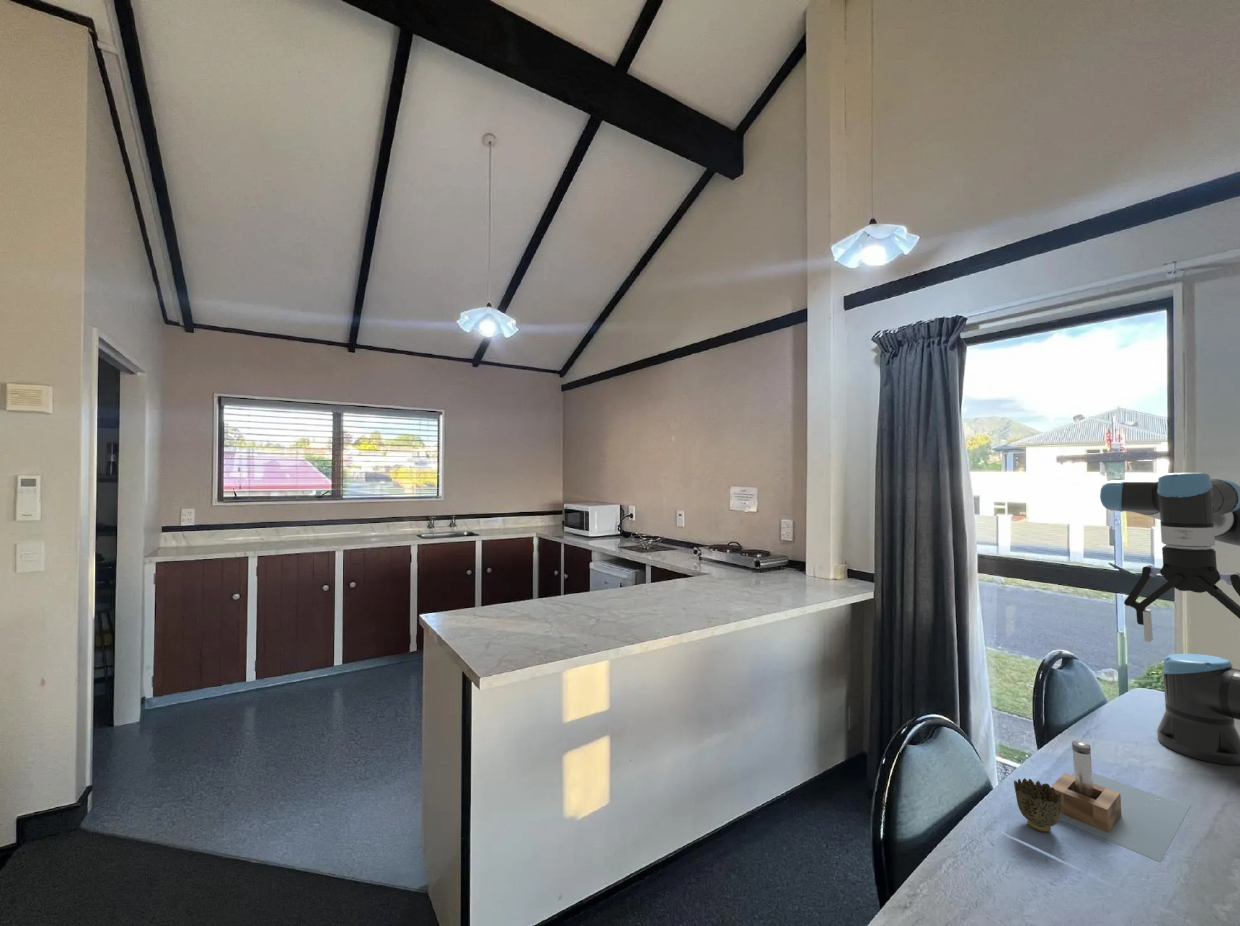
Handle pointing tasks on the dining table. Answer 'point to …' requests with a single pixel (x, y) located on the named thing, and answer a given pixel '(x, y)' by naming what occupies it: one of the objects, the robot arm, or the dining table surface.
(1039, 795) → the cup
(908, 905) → the dining table surface
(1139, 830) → the mat
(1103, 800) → the wooden block with hole
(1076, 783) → the metal cylinder rod
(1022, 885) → the dining table surface
